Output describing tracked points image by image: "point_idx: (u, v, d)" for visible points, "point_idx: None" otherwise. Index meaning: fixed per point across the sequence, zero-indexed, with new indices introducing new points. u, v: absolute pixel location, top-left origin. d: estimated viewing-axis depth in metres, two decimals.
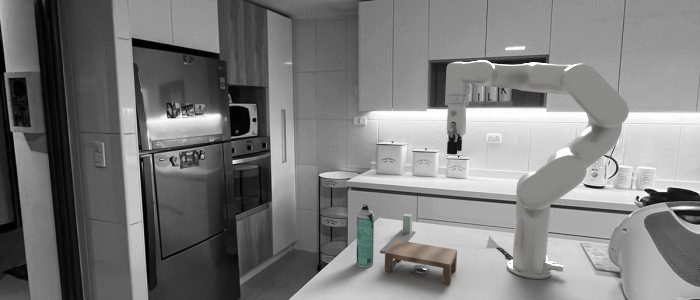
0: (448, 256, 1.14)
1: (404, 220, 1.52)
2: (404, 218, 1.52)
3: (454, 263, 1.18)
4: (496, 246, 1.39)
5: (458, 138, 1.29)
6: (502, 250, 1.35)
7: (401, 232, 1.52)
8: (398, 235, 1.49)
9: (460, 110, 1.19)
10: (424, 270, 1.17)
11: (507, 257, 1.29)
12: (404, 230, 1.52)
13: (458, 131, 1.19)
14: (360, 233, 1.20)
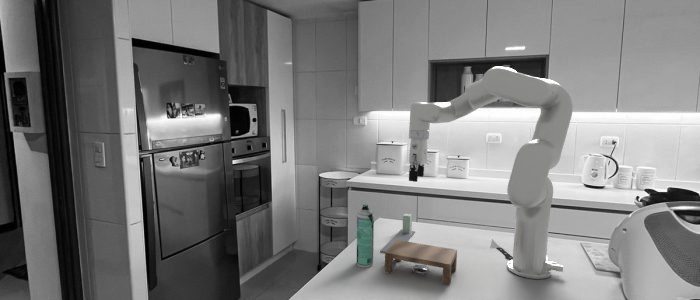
0: (448, 256, 1.14)
1: (404, 220, 1.52)
2: (404, 218, 1.52)
3: (454, 263, 1.18)
4: (496, 246, 1.39)
5: (420, 165, 1.48)
6: (502, 250, 1.35)
7: (401, 232, 1.53)
8: (398, 235, 1.49)
9: (420, 144, 1.38)
10: (424, 270, 1.17)
11: (507, 257, 1.29)
12: (404, 230, 1.52)
13: (418, 162, 1.39)
14: (360, 233, 1.20)
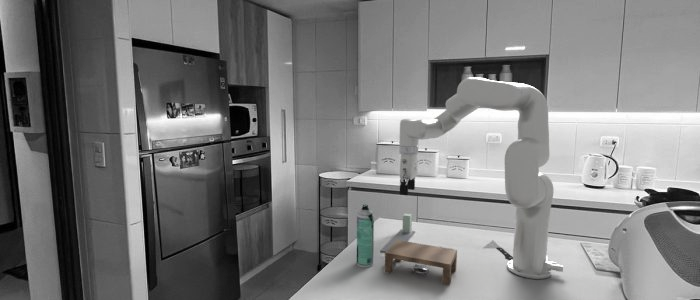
0: (448, 256, 1.14)
1: (404, 220, 1.52)
2: (404, 218, 1.52)
3: (454, 263, 1.18)
4: (496, 246, 1.39)
5: (411, 179, 1.55)
6: (502, 250, 1.35)
7: (401, 232, 1.53)
8: (398, 235, 1.49)
9: (410, 159, 1.45)
10: (424, 270, 1.17)
11: (507, 257, 1.29)
12: (404, 230, 1.53)
13: (408, 176, 1.45)
14: (360, 233, 1.20)
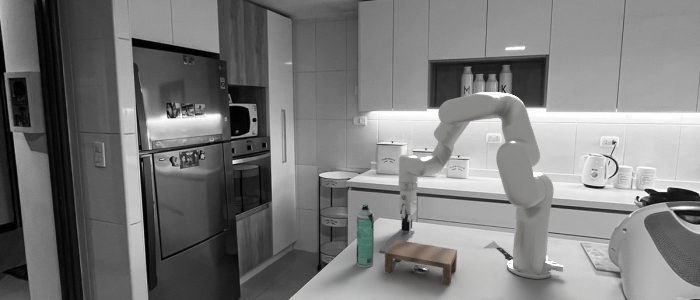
0: (448, 256, 1.14)
1: None
2: None
3: (454, 263, 1.18)
4: (496, 246, 1.39)
5: None
6: (502, 250, 1.35)
7: (400, 232, 1.53)
8: (397, 235, 1.49)
9: (409, 195, 1.47)
10: (424, 270, 1.17)
11: (507, 257, 1.29)
12: None
13: (407, 212, 1.47)
14: (360, 233, 1.20)
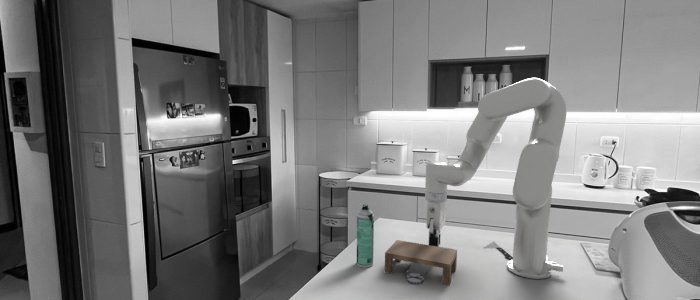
0: (448, 256, 1.14)
1: None
2: None
3: (454, 263, 1.18)
4: (496, 246, 1.39)
5: None
6: (502, 250, 1.35)
7: None
8: None
9: (438, 208, 1.29)
10: (418, 279, 1.11)
11: (507, 257, 1.29)
12: None
13: (436, 227, 1.29)
14: (360, 233, 1.20)
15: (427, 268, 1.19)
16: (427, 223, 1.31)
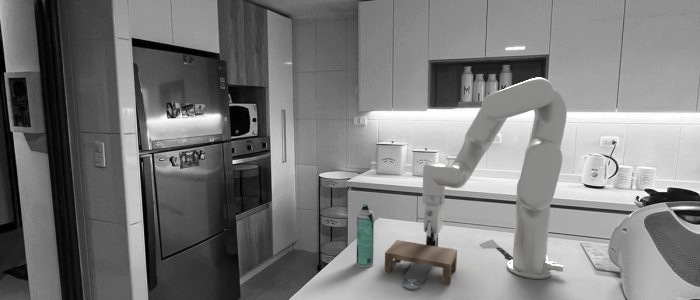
0: (448, 256, 1.14)
1: None
2: None
3: (454, 263, 1.18)
4: (496, 246, 1.39)
5: None
6: (502, 250, 1.35)
7: None
8: None
9: (435, 211, 1.25)
10: (414, 285, 1.07)
11: (507, 257, 1.29)
12: None
13: (434, 230, 1.26)
14: (360, 233, 1.20)
15: (425, 273, 1.15)
16: (424, 226, 1.27)
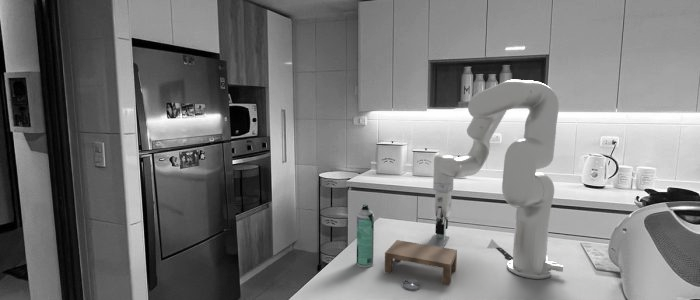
0: (448, 256, 1.14)
1: None
2: None
3: (454, 263, 1.18)
4: (496, 246, 1.39)
5: (444, 217, 1.50)
6: (502, 250, 1.35)
7: (435, 237, 1.47)
8: (432, 240, 1.43)
9: (445, 197, 1.41)
10: (414, 286, 1.07)
11: (507, 257, 1.29)
12: (438, 235, 1.47)
13: (444, 214, 1.41)
14: (360, 233, 1.20)
15: None
16: (435, 211, 1.42)
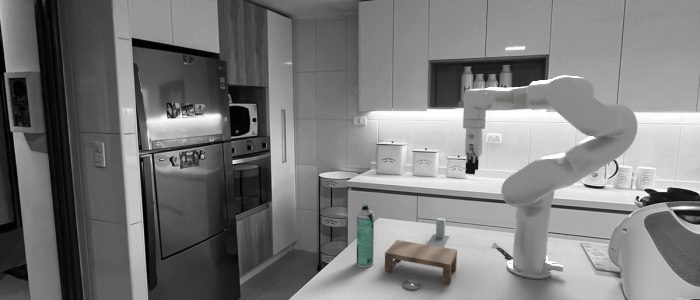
0: (448, 256, 1.14)
1: (438, 224, 1.47)
2: (438, 222, 1.47)
3: (454, 263, 1.18)
4: (496, 246, 1.39)
5: (475, 158, 1.38)
6: (502, 250, 1.35)
7: (434, 237, 1.47)
8: (432, 240, 1.44)
9: (477, 133, 1.28)
10: (414, 286, 1.07)
11: (507, 257, 1.29)
12: (437, 235, 1.47)
13: (476, 153, 1.29)
14: (360, 233, 1.20)
15: None
16: (466, 150, 1.30)
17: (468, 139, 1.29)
